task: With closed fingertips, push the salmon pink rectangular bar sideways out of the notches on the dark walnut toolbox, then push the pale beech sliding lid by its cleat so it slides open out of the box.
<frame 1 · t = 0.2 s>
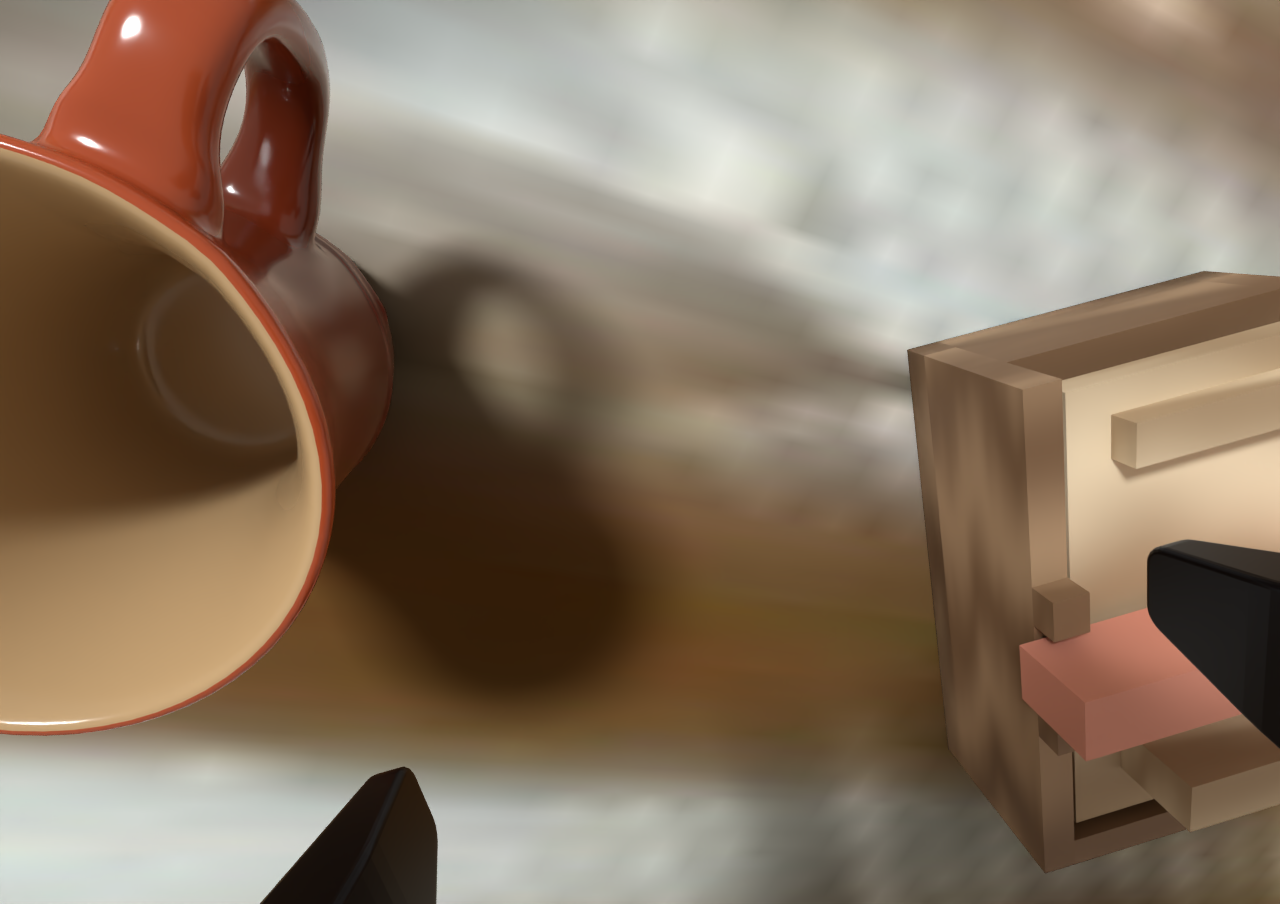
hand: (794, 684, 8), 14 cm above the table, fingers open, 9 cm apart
toolbox: (1063, 533, 25), on the table
mug: (290, 292, 19), on the table
lid: (1220, 613, 19), point 6 cm above the table, slide at 0.0 cm
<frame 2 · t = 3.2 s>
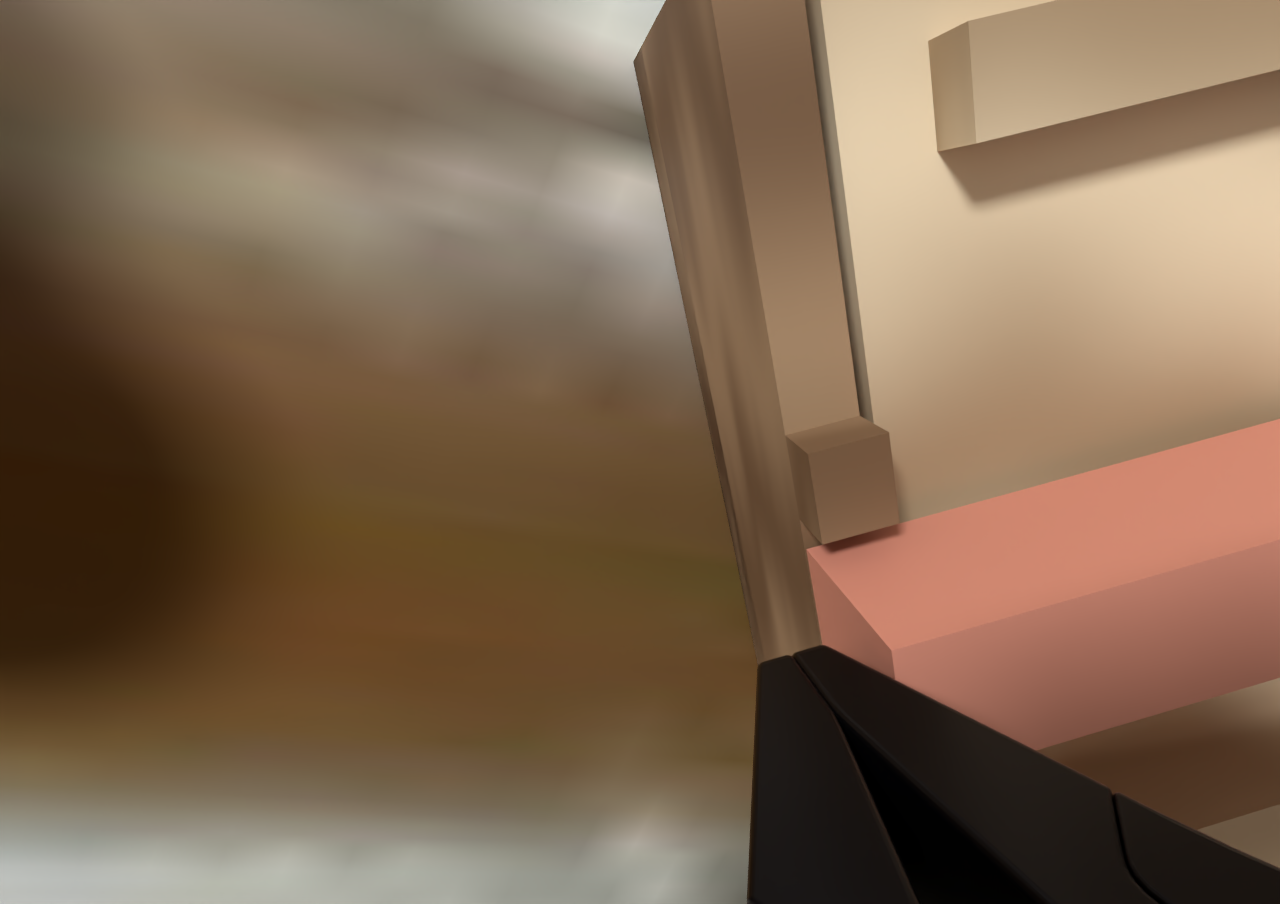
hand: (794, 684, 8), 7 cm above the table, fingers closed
toolbox: (939, 415, 15), on the table
lid: (1178, 496, 9), point 6 cm above the table, slide at 0.0 cm
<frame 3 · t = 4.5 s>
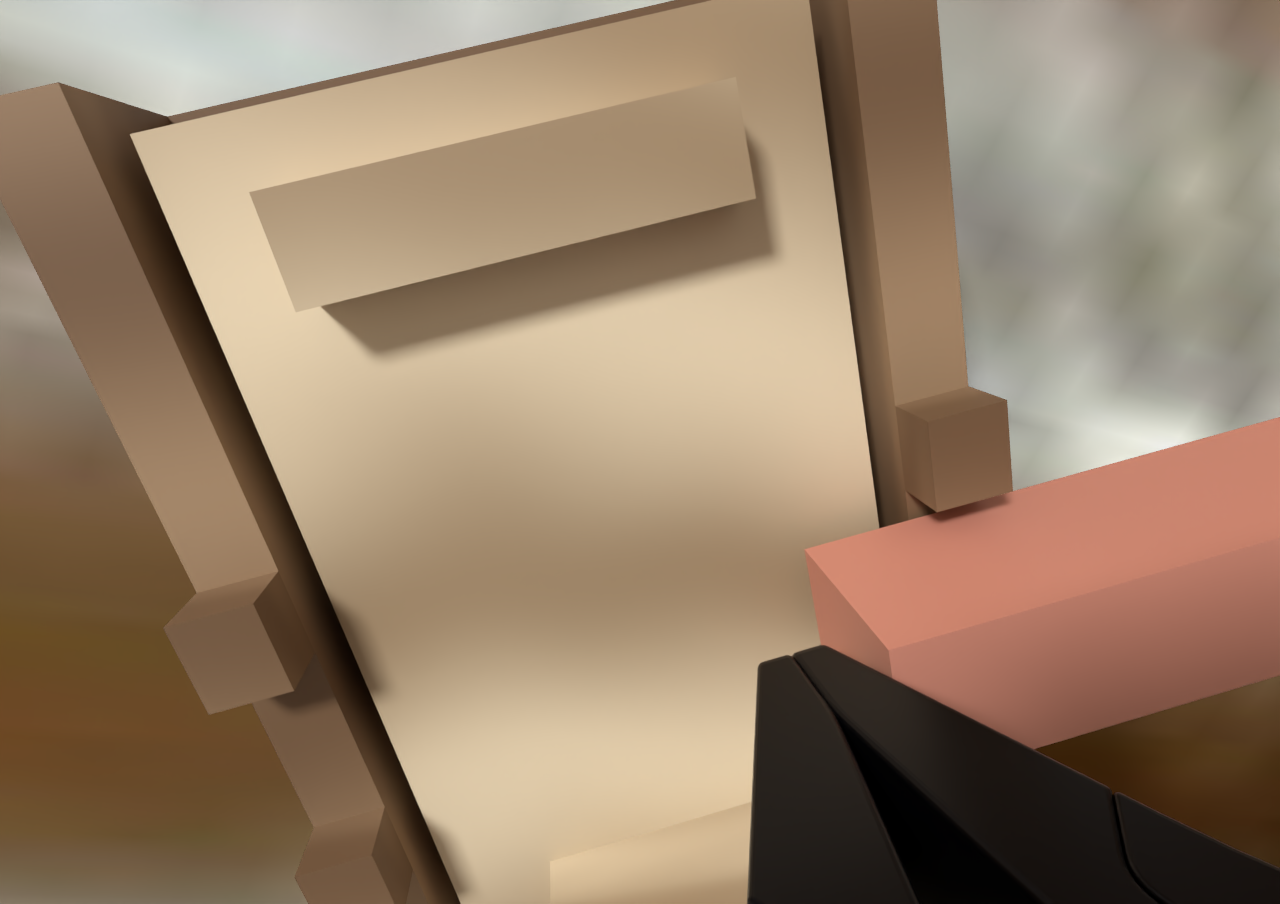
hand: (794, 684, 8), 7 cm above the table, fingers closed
toolbox: (605, 504, 15), on the table
lid: (637, 647, 9), point 6 cm above the table, slide at 0.0 cm
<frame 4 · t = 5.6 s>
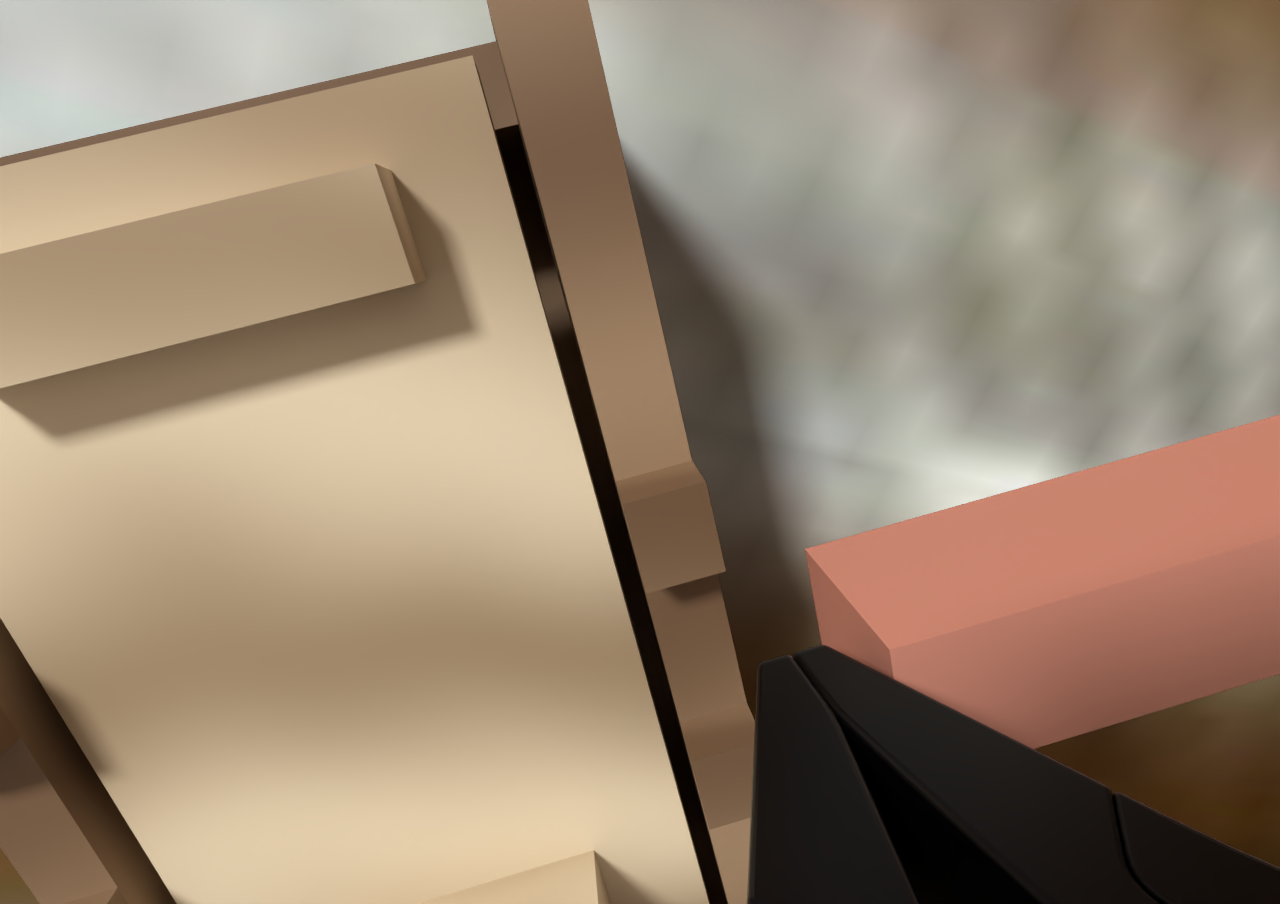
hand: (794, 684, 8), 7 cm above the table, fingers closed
toolbox: (432, 552, 15), on the table
lid: (352, 730, 9), point 6 cm above the table, slide at 0.0 cm
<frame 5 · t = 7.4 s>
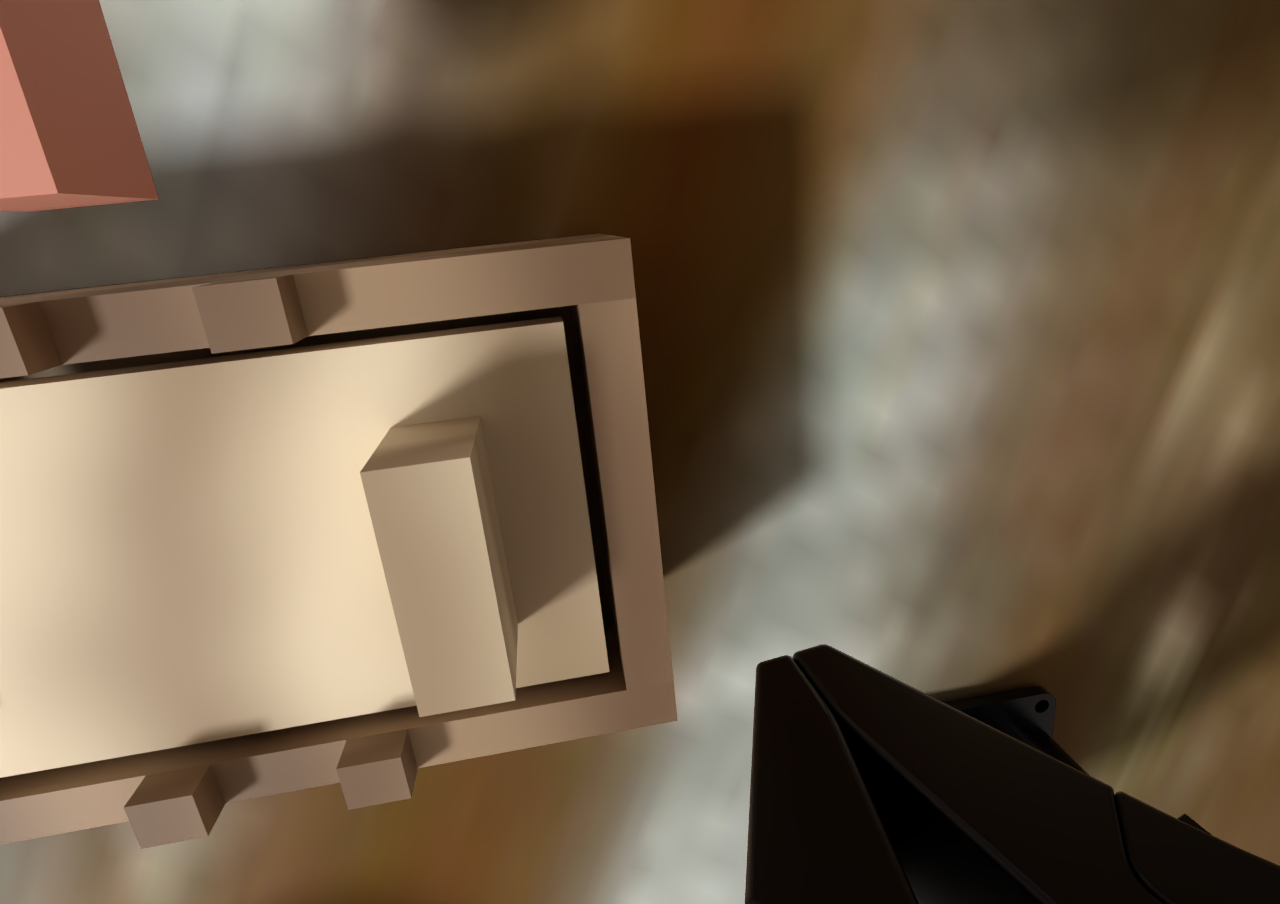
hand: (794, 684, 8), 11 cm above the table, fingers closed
toolbox: (311, 471, 18), on the table
lid: (184, 590, 12), point 6 cm above the table, slide at 0.0 cm
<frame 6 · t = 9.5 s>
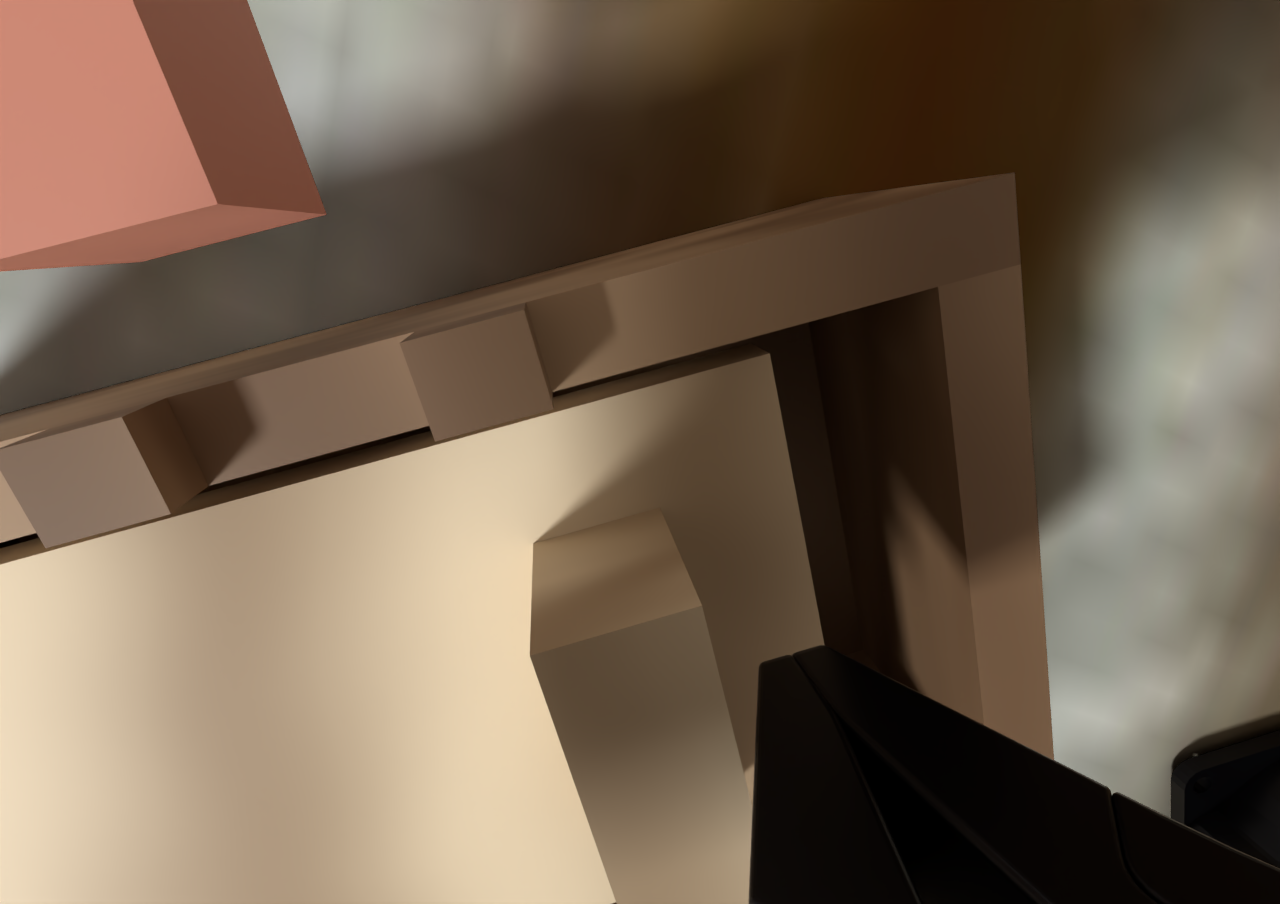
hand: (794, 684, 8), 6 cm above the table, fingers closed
toolbox: (483, 555, 14), on the table
lid: (273, 824, 8), point 6 cm above the table, slide at 1.7 cm, touching gripper
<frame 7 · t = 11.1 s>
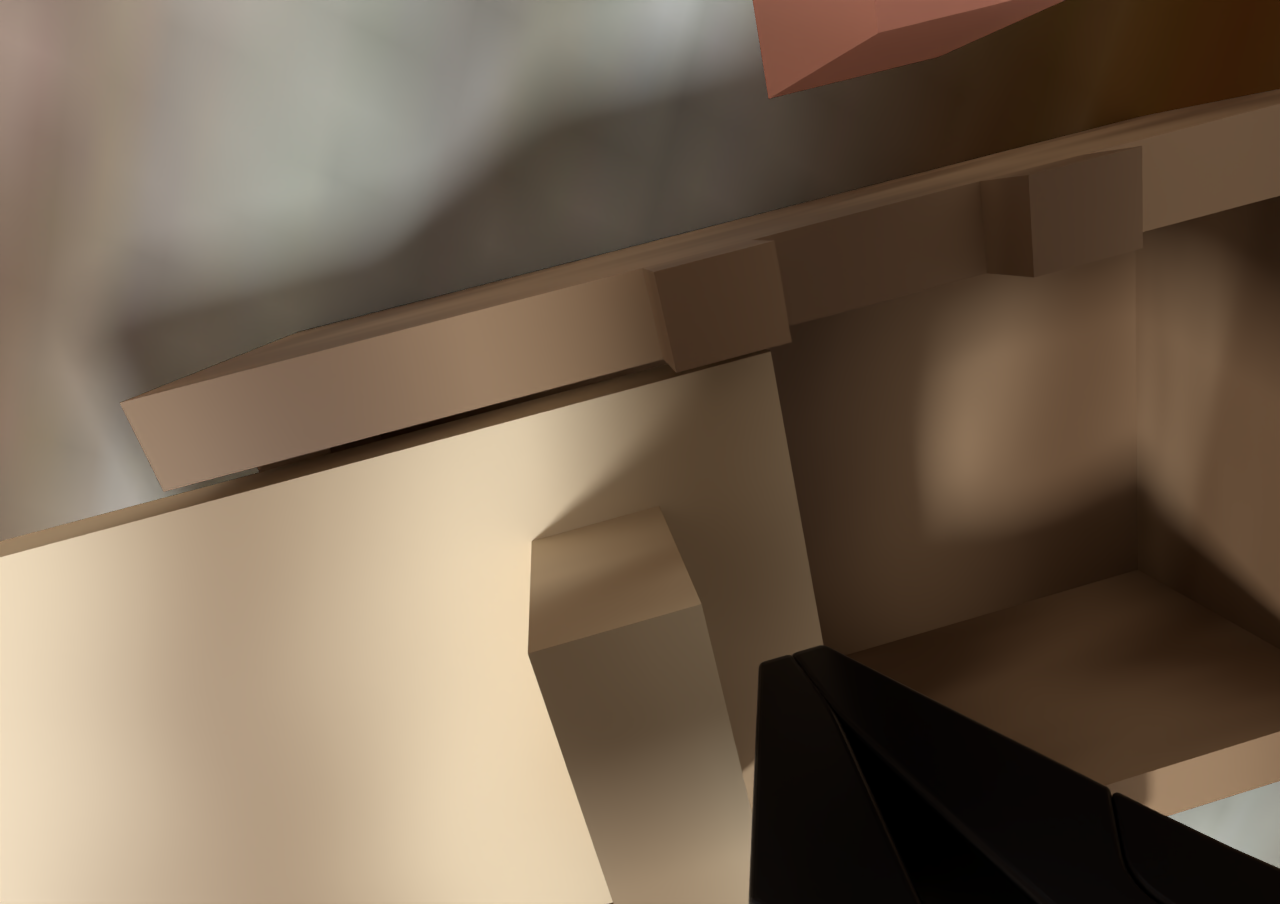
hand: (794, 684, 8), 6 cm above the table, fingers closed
toolbox: (780, 470, 14), on the table
lid: (268, 821, 8), point 6 cm above the table, slide at 7.9 cm, touching gripper
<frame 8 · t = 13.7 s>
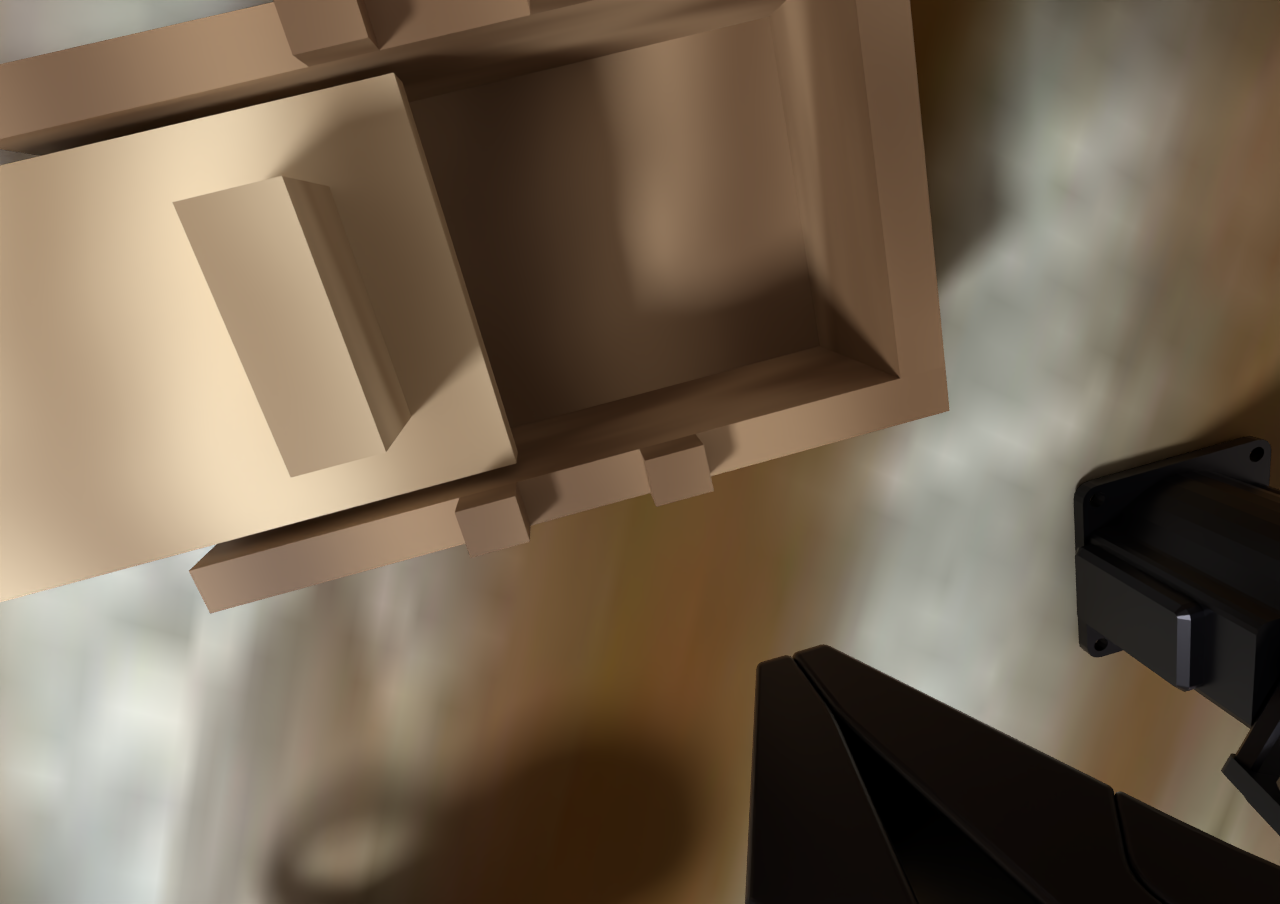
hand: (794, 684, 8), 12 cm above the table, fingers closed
toolbox: (528, 259, 18), on the table
lid: (55, 389, 12), point 6 cm above the table, slide at 7.9 cm
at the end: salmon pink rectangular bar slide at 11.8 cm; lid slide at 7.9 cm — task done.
